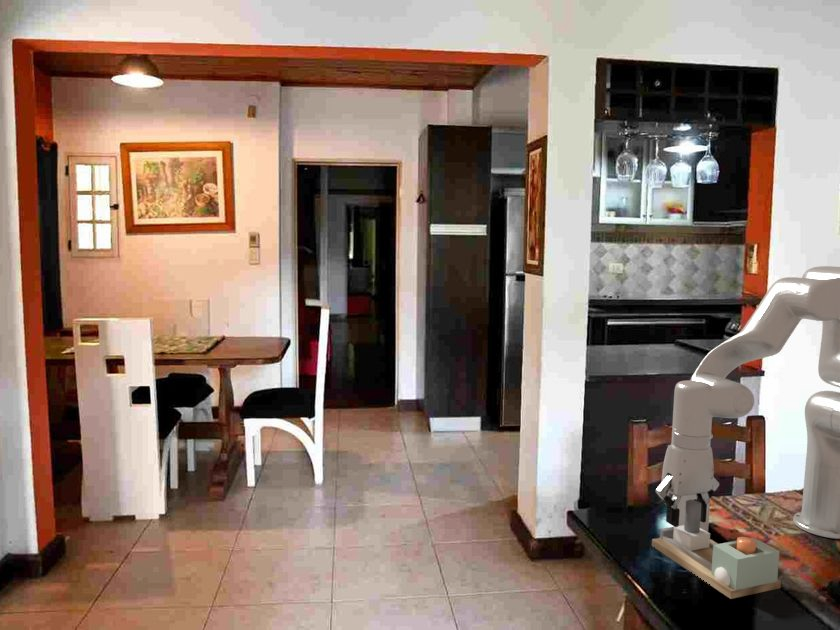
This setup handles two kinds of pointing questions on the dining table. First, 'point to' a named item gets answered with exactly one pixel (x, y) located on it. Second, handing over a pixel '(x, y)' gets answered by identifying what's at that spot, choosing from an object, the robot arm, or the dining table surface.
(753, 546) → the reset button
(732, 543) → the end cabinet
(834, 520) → the robot arm
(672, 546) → the track
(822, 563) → the dining table surface
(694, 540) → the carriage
